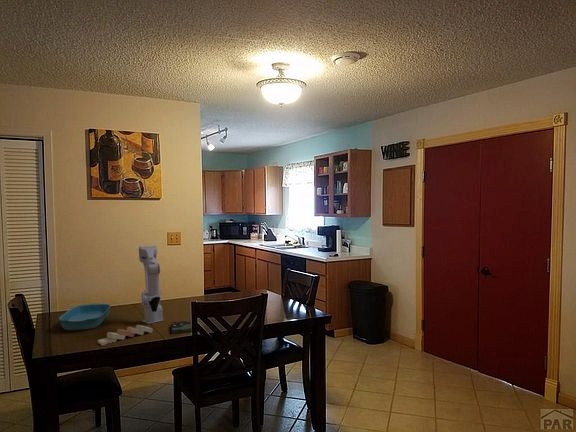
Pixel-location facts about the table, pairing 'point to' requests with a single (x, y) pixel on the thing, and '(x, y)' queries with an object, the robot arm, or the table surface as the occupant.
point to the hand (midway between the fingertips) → (154, 311)
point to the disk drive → (181, 327)
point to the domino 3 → (125, 333)
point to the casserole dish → (84, 316)
